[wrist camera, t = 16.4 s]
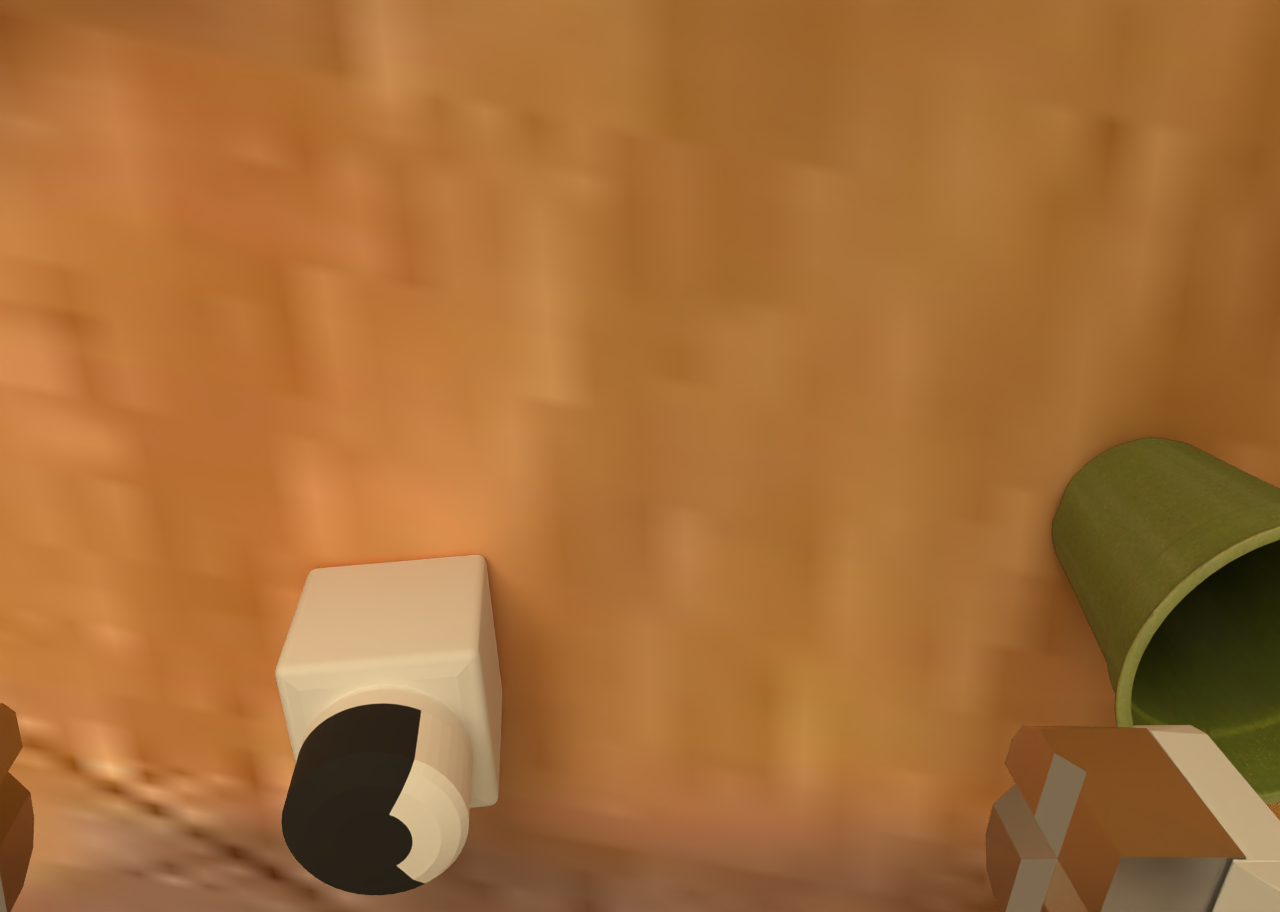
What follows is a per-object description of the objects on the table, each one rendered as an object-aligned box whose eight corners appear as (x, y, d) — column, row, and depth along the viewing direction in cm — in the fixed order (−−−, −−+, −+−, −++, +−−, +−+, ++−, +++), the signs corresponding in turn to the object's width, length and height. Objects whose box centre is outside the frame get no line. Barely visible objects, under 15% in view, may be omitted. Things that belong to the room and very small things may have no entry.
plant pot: (938, 560, 48) (1046, 730, 38) (1126, 331, 45) (1302, 453, 34) (1136, 672, 52) (1284, 856, 42) (1326, 469, 48) (1539, 616, 38)
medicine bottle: (336, 708, 49) (281, 933, 38) (307, 565, 46) (238, 765, 35) (503, 693, 49) (496, 910, 39) (485, 550, 46) (471, 743, 35)
